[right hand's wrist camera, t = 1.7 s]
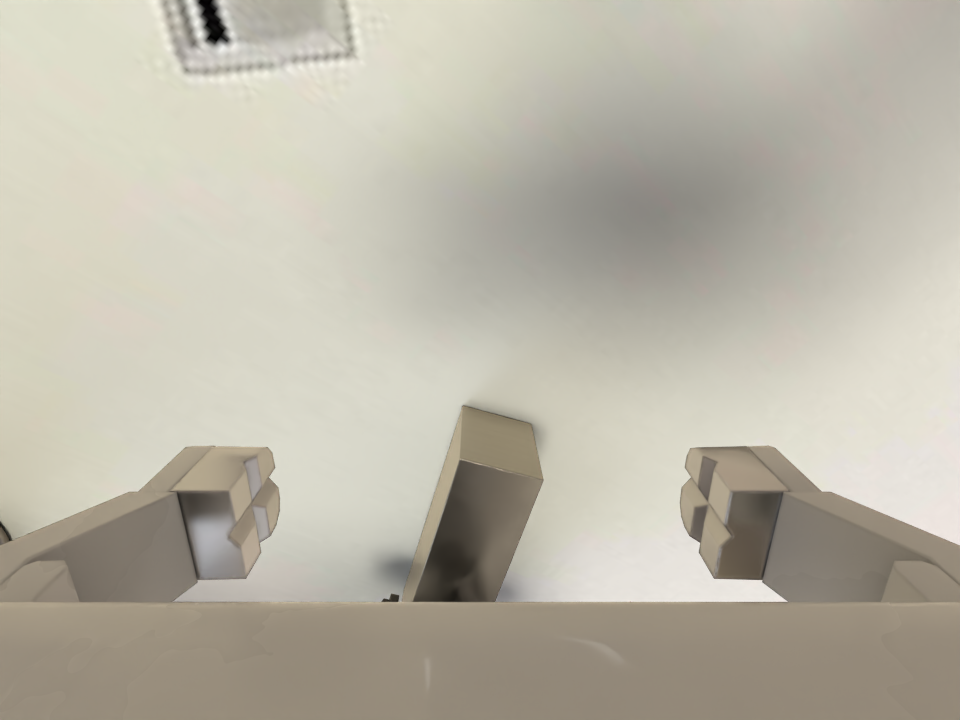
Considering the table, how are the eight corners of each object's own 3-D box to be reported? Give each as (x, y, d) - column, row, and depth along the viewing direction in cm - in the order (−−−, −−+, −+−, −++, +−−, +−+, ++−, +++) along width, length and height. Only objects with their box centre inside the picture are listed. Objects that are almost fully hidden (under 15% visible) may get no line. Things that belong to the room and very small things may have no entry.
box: (462, 405, 44) (459, 458, 36) (531, 423, 45) (543, 480, 37) (403, 590, 51) (389, 670, 43) (463, 604, 51) (461, 685, 43)
